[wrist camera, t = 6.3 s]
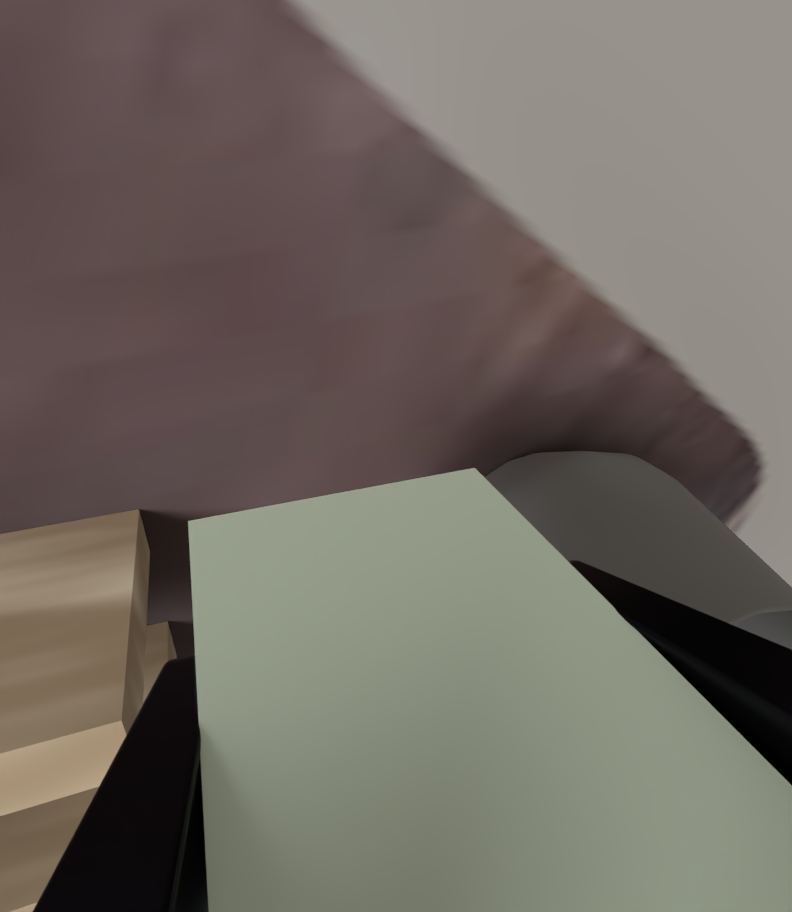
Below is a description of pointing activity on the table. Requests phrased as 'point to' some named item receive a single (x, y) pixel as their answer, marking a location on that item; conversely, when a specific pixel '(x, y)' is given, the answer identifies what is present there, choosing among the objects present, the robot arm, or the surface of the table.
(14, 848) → the domino
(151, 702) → the robot arm
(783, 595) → the cup
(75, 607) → the domino
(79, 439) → the table surface
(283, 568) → the domino
